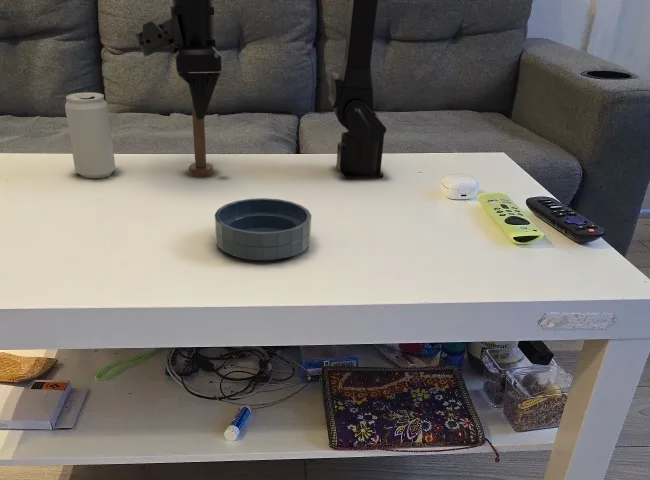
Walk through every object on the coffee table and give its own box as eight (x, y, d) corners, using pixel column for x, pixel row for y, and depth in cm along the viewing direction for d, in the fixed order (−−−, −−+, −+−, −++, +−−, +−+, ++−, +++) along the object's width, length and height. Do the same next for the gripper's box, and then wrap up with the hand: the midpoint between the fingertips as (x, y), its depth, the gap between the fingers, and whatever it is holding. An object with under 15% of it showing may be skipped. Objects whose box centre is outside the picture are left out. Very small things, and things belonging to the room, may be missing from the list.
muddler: (212, 169, 111) (209, 98, 105) (214, 176, 108) (211, 104, 102) (188, 170, 111) (183, 98, 104) (189, 177, 108) (185, 104, 101)
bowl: (300, 224, 92) (301, 196, 89) (318, 261, 82) (319, 230, 79) (212, 229, 90) (211, 200, 88) (220, 267, 80) (219, 235, 78)
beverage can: (87, 182, 105) (75, 102, 98) (68, 172, 109) (55, 94, 102) (123, 174, 108) (114, 96, 102) (103, 165, 112) (93, 89, 106)
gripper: (136, -9, 102) (146, 99, 110) (133, 4, 86) (146, 128, 95) (209, -9, 103) (213, 98, 112) (219, 4, 88) (223, 126, 97)
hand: (198, 111), depth 104 cm, fingers open, 9 cm apart
